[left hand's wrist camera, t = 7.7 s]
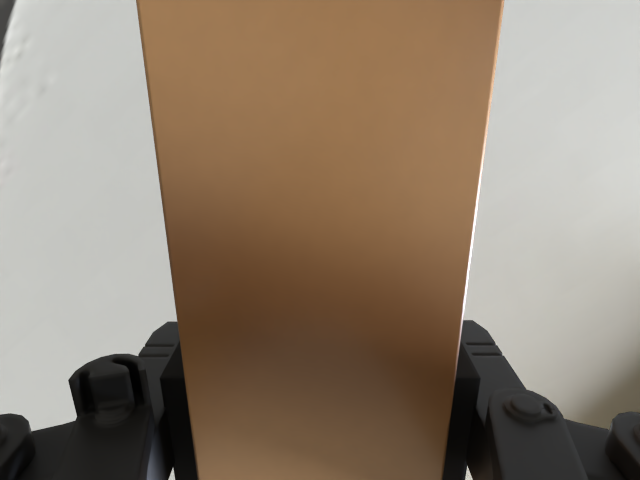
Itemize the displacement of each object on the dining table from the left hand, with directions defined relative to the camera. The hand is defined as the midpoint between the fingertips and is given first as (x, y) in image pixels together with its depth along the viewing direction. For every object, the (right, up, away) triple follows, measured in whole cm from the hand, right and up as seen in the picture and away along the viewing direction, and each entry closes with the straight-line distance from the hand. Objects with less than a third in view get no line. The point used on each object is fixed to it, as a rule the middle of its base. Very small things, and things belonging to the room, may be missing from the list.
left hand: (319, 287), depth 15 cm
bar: (0, -22, +9) cm, 24 cm away
